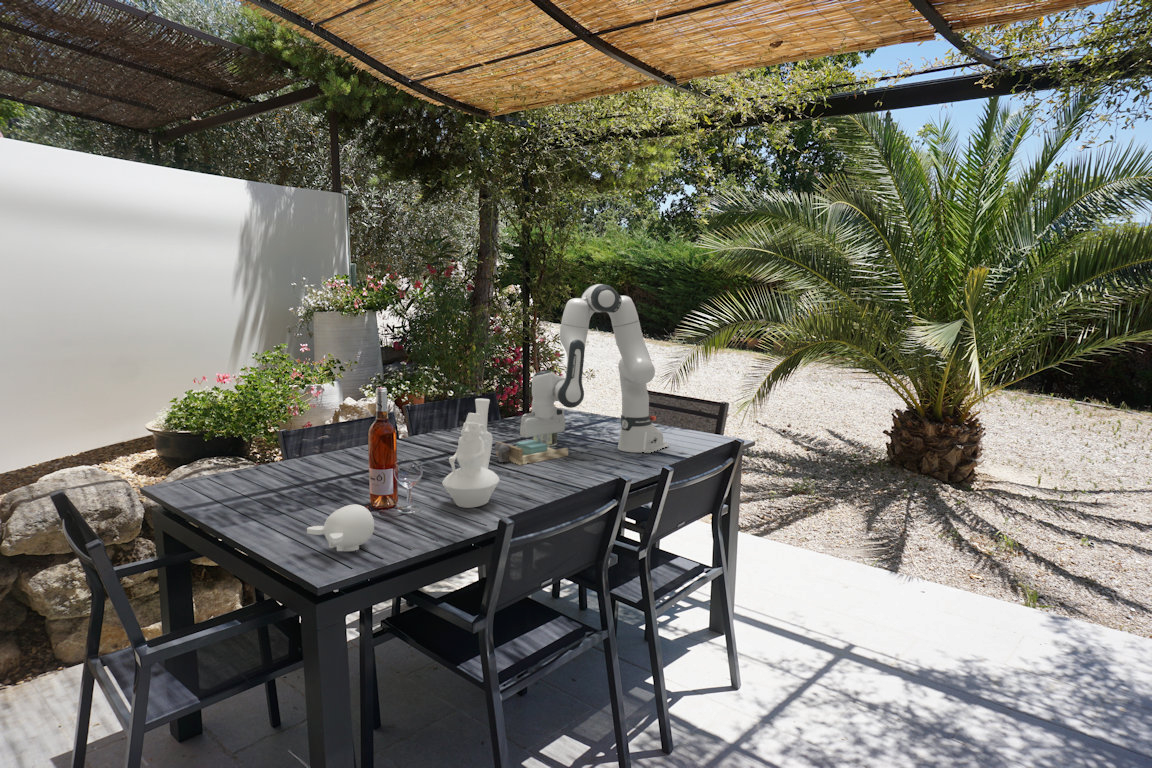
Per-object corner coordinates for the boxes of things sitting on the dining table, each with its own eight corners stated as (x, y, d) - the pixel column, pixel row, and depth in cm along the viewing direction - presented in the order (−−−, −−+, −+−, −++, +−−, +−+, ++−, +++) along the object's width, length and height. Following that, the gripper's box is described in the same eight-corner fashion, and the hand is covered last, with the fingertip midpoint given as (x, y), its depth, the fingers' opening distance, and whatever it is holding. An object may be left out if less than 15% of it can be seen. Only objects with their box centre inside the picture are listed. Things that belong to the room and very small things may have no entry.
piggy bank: (363, 542, 196) (314, 563, 184) (351, 501, 196) (301, 519, 184) (389, 540, 188) (340, 561, 176) (377, 497, 188) (326, 515, 176)
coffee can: (548, 440, 313) (548, 408, 311) (561, 444, 304) (561, 412, 302) (528, 443, 307) (528, 410, 305) (541, 448, 299) (541, 414, 297)
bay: (544, 448, 298) (544, 431, 297) (568, 455, 286) (568, 438, 285) (484, 459, 280) (484, 441, 279) (507, 467, 268) (507, 448, 267)
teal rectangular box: (532, 449, 291) (532, 439, 290) (547, 454, 283) (547, 444, 282) (516, 452, 286) (516, 442, 285) (530, 457, 278) (530, 447, 277)
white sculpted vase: (430, 506, 222) (427, 404, 217) (473, 489, 240) (472, 394, 236) (476, 516, 213) (475, 410, 208) (517, 497, 232) (517, 399, 227)
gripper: (525, 415, 276) (526, 450, 278) (567, 409, 289) (567, 443, 291) (516, 413, 281) (516, 447, 283) (557, 407, 294) (557, 440, 296)
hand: (542, 445), depth 287 cm, fingers closed
